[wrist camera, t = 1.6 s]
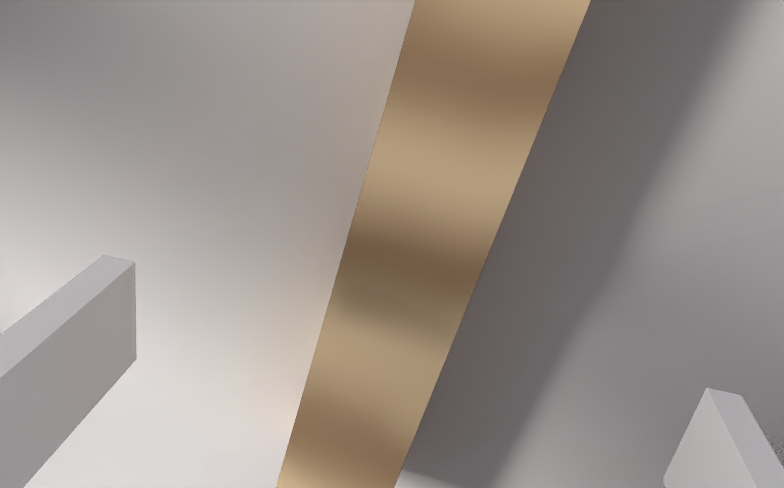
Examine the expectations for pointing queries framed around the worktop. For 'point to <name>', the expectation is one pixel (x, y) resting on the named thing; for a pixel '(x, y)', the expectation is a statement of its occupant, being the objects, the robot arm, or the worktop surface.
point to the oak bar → (424, 228)
